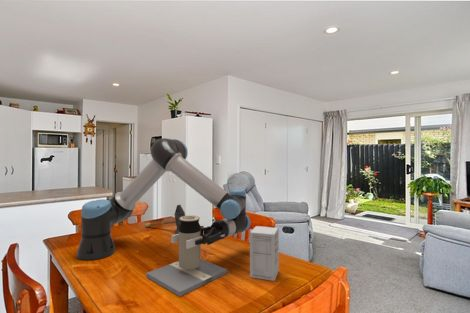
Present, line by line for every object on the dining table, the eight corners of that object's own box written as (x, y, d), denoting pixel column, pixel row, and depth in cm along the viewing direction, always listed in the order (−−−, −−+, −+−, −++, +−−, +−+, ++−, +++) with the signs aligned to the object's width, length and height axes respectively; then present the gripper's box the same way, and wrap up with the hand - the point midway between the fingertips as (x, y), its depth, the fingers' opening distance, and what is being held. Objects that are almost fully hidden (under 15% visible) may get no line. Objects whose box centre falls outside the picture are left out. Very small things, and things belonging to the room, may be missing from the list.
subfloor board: (146, 277, 96) (146, 272, 96) (192, 259, 113) (192, 255, 113) (179, 296, 83) (179, 291, 83) (227, 273, 99) (227, 269, 99)
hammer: (147, 209, 165) (185, 203, 152) (151, 235, 164) (190, 230, 151) (140, 211, 160) (178, 205, 147) (144, 237, 159) (183, 233, 145)
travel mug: (181, 271, 93) (181, 221, 93) (177, 263, 100) (177, 216, 100) (203, 267, 96) (203, 218, 96) (197, 259, 104) (197, 214, 103)
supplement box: (279, 270, 102) (279, 227, 102) (275, 281, 93) (275, 234, 93) (255, 267, 105) (255, 225, 105) (249, 277, 96) (249, 231, 96)
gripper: (241, 242, 105) (198, 260, 88) (206, 232, 119) (162, 245, 102) (241, 224, 105) (198, 237, 88) (206, 216, 119) (162, 226, 101)
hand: (179, 242), depth 95 cm, fingers closed on travel mug, 8 cm apart
